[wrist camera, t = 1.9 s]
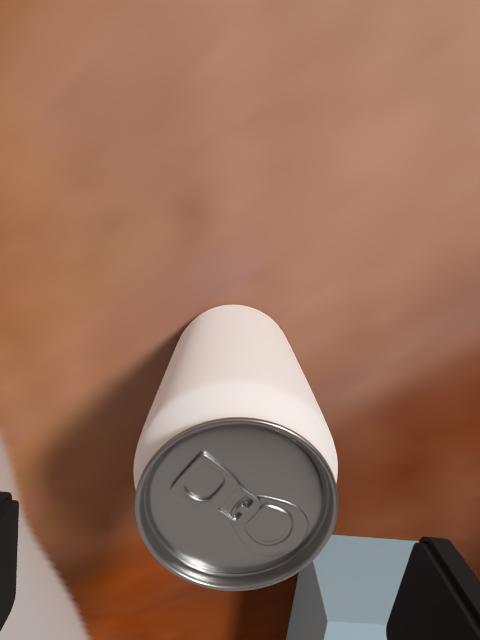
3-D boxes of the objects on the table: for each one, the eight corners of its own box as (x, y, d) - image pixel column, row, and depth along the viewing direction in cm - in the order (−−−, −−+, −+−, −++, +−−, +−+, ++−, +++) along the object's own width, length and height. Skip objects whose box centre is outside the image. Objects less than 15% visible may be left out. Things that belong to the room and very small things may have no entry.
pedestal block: (451, 541, 26) (514, 632, 21) (417, 652, 29) (465, 761, 23) (305, 530, 26) (327, 621, 20) (284, 644, 28) (298, 754, 22)
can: (240, 429, 23) (252, 637, 12) (153, 366, 22) (70, 529, 11) (312, 349, 22) (403, 493, 11) (224, 278, 21) (218, 354, 9)
